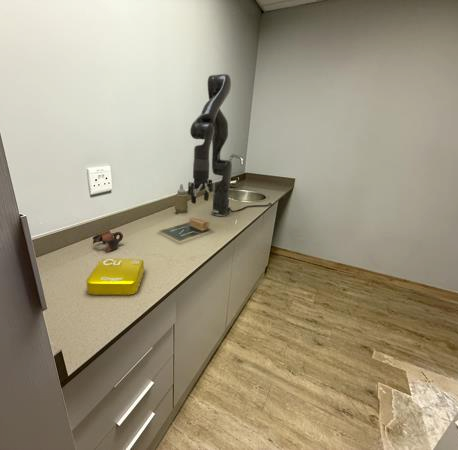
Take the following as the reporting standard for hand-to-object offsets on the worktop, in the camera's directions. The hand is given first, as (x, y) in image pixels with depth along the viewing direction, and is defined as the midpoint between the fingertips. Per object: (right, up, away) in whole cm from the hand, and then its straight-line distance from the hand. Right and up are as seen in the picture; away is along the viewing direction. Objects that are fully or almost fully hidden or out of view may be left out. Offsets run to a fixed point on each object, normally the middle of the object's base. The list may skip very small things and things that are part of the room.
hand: (200, 201), depth 119 cm
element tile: (-26, -30, -40) cm, 56 cm away
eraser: (-1, -14, +4) cm, 14 cm away
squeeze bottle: (-12, -4, +31) cm, 33 cm away
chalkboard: (-7, -15, +2) cm, 17 cm away
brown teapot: (-38, -21, -17) cm, 47 cm away
